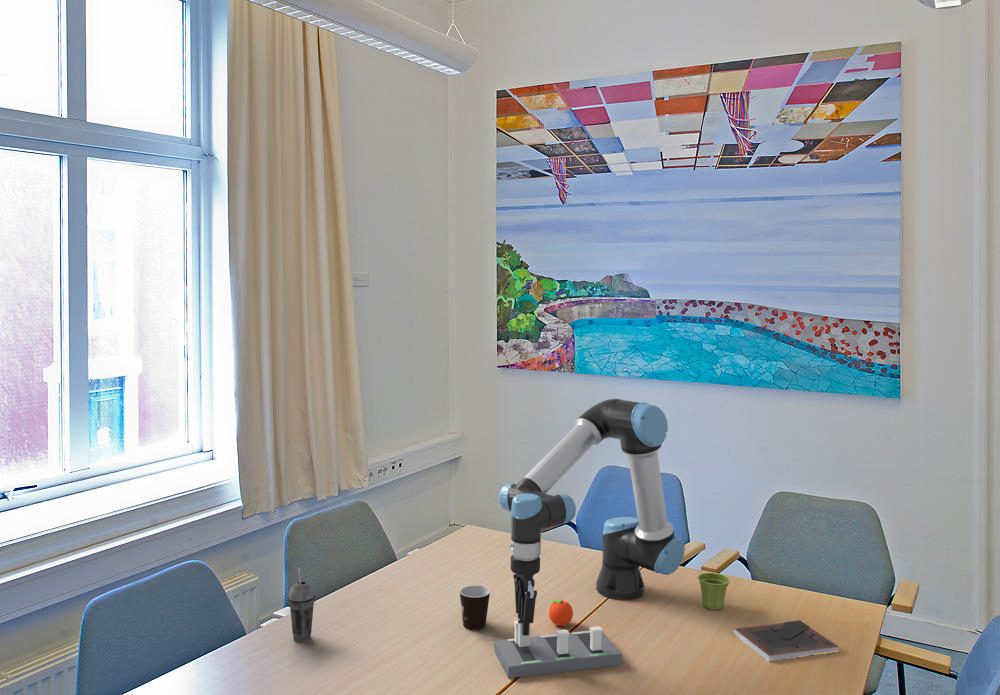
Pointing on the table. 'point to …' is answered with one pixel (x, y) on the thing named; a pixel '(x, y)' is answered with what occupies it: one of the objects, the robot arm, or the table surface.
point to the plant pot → (713, 589)
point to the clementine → (560, 612)
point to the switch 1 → (516, 631)
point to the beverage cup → (301, 609)
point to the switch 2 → (595, 638)
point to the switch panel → (555, 655)
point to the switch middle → (562, 641)
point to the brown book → (784, 640)
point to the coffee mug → (474, 606)
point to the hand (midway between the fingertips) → (523, 645)
